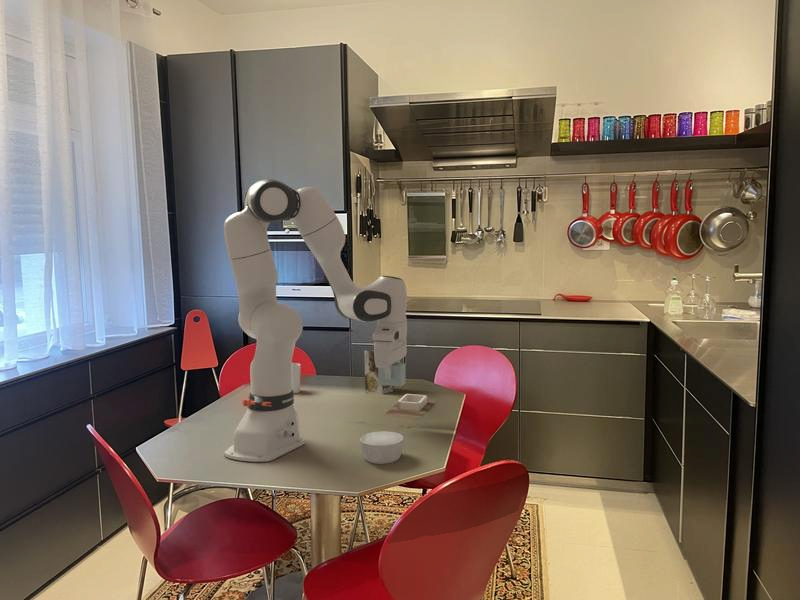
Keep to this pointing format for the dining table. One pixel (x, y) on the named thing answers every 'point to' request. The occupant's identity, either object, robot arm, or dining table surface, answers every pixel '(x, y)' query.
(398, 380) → the keyed plug
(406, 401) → the socket
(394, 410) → the walnut board
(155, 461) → the dining table surface
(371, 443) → the ramekin
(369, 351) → the coffee box
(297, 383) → the drinking glass
